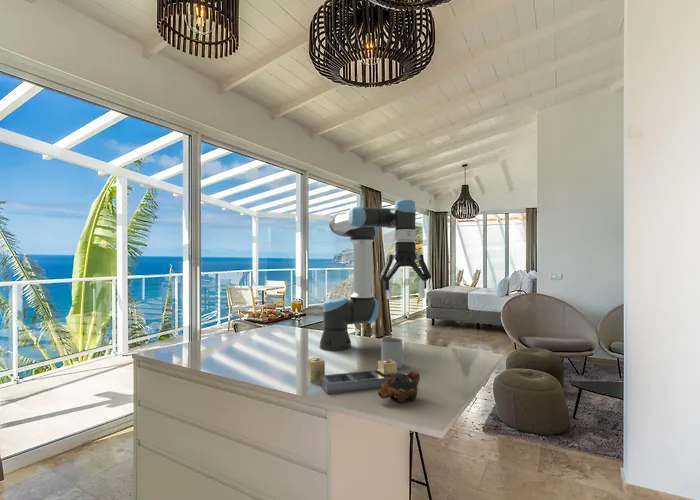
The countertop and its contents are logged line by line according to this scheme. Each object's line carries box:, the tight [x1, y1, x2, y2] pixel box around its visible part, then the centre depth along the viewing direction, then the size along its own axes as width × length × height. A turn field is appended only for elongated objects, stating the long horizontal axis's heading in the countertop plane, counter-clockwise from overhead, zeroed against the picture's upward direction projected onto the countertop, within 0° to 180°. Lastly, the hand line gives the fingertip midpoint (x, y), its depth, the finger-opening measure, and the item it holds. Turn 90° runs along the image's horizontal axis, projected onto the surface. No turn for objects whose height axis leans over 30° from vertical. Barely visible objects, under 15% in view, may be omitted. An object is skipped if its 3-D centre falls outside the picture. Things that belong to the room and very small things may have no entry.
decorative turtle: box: [377, 370, 421, 404], centre depth 121 cm, size 10×15×8 cm, turn 126°
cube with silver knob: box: [307, 357, 326, 383], centre depth 141 cm, size 5×5×7 cm
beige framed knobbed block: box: [377, 359, 398, 377], centre depth 138 cm, size 5×5×7 cm
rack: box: [319, 369, 404, 395], centre depth 135 cm, size 9×28×3 cm, turn 108°
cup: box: [380, 337, 403, 369], centre depth 158 cm, size 8×8×10 cm
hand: (405, 298), depth 147 cm, fingers open, 13 cm apart
